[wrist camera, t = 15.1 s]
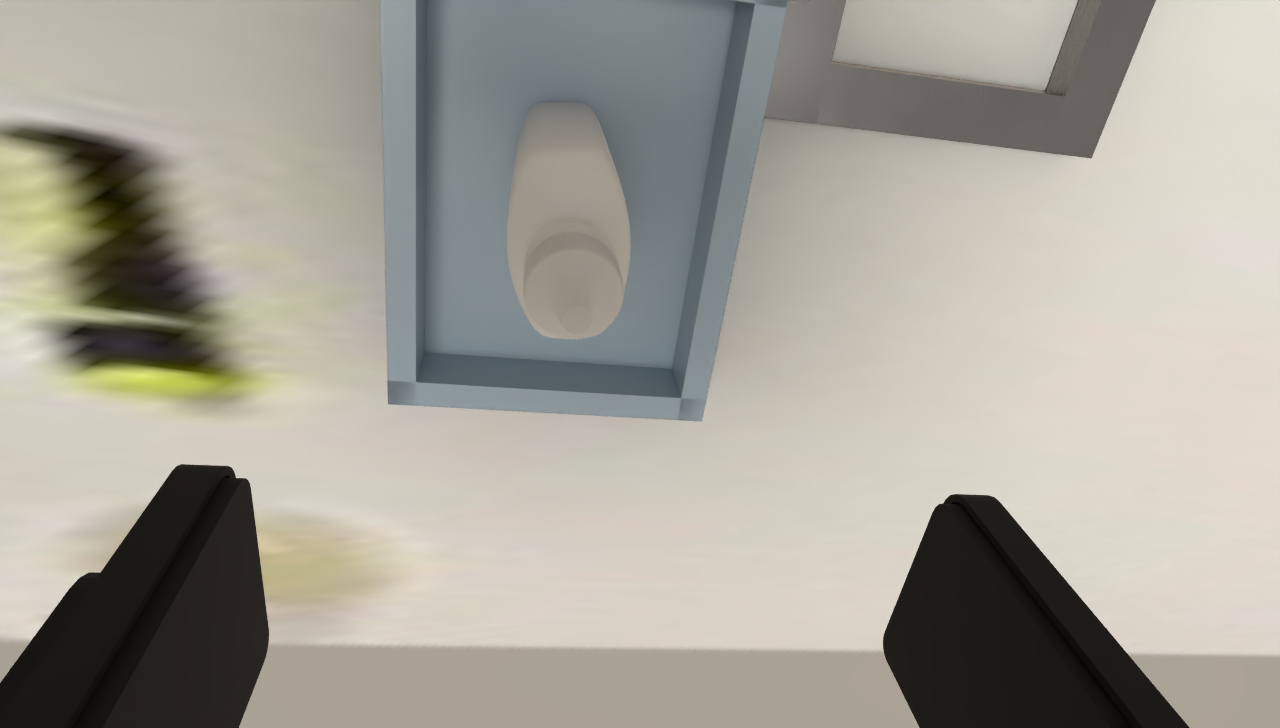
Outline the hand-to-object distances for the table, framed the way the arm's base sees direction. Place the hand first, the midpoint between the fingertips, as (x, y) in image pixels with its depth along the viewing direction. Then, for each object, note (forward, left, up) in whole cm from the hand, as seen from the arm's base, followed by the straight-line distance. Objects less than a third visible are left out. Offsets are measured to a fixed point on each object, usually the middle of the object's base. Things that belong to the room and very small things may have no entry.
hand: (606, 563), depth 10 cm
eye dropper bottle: (0, 0, -20) cm, 20 cm away
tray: (0, 0, -20) cm, 20 cm away
